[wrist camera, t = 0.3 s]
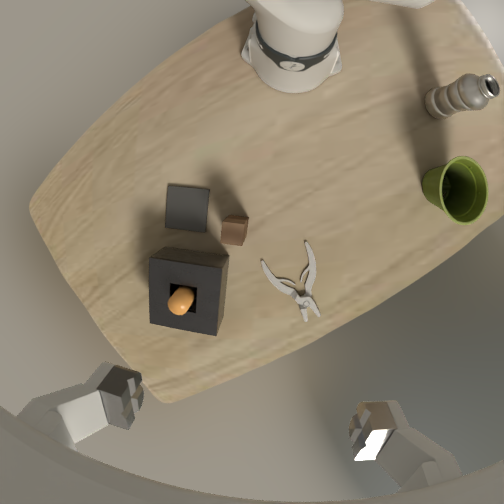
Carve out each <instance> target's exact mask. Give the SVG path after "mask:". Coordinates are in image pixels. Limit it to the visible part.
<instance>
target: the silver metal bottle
mask: <svg viewBox="0 0 504 504" xmlns="http://www.w3.org/2000/svg"><path fill="white" fill-rule="evenodd" d="M499 93H500V87H499V84H498V82H497V80H496V79H495V78H494V77H493V76H492V75H490V74H486V75H483V76H480V77H479V76H477V75H475V74H464V75H462V76H461V77H460V78H458V79H457V80H456V81H455V82H453V83H451V84H449V85H447V86H443V87H437V88H433V89H431V90H430V91H429V92H428V93H427V94H426V96H425V106H426V108H427V110H428V112H429V113H430V114H431V115H432V116H433V117H435V118H438V119H446V118H448V117H450V116H452V115H453V114H455V113H457V112H460V111H466V110H482V109H483V108H484V107H486V105H487V104H488V102H489V99H492V98H494V97H497V96H498V95H499Z"/></svg>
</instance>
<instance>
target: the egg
mask: <svg viewBox="0 0 504 504" xmlns="http://www.w3.org/2000/svg"><path fill="white" fill-rule="evenodd" d="M196 295H197V290H196V288H195V287H191V286H185V285H180V286H179V287H178V289H177V290H176V291H175V292H174V294H173V295H172V296H171V297H170V298H169V300H168V307H169V309H170V311H171V312H172V313H174V314H176V315H183V314H185V313H186V312H187V310H188V309H189V307H190V305H191V304H192V302H193V301H194V299H195V297H196Z"/></svg>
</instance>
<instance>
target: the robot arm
mask: <svg viewBox="0 0 504 504" xmlns="http://www.w3.org/2000/svg"><path fill="white" fill-rule="evenodd" d="M245 1H246V2H247V3H249V4H250V5H251V6H252V7H253V9H254V11H255V13H254V15H253V19H252V22H254V24H253V27H251V28H250V32H249V36H248V38H247V41H246V43H245V45H244V48H243V50H242V53H241V57H242V59H243V60H244V61H245V62H247V63H248V64H250V65H251V66H252V67H253V68H254V69H255V71H256V73H257V74H258V76H259V77H260V78H261V79H262V80H263V81H264V82H265V83H266V84H267V85H269V86H270V87H272V88H274V89H276V90H279V91H282V92H287V93H302V92H306V91H310V90H312V89H314V88H316V87H317V86H319V85H320V84H321V83H322V82H323V81H324V80H325V79H326V78H327V77H329V76H332V75H335V74H337V73H339V72H340V71H341V69H342V63H341V57H340V51H339V46H338V40H337V30H338V28H339V25H340V23H341V21H342V19H343V15H344V6H343V2H342V0H245ZM370 1H373V2H380V3H386V4H392V5H398V6H404V7H410V8H415V9H419V8H422V7H425V6H427V5H429V4H431V3H432V2H434V1H435V0H370ZM248 49H249V51H248ZM336 62H337V63H336ZM141 381H142V376H141V373H140V372H138V371H134V370H131V369H128V368H125V367H122V366H119V365H114V364H112V363H109V362H106V361H105V362H103V363H102V364H101V365H100V366H99V367H98V368H97V370H96V371H95V372H94V373H93V374H92V376H91V377H90V378H89V379H88V380H87V382H86V383H85V384H78V385H75V386H72V387H69V388H66V389H62V390H60V391H56V392H53V393H50V394H47V395H43V396H40V397H37V398H34V399H32V400H31V401H30V402H29V403H28V404H27V405H26V406H25V408H24V409H23V410H22V411H21V412H20V413H19V414H18V415H17V416H14V415H13V414H11V413H10V412H8V411H7V410H5V409H4V408H3V407H1V406H0V504H504V460H502V461H500V462H497V463H495V464H493V465H491V466H488V467H486V468H483V469H481V470H478V471H475V472H473V473H470V474H467V475H464V476H463V475H462V472H461V470H460V468H459V466H458V464H457V462H456V460H455V457H454V455H453V454H451V453H450V452H448V451H447V450H445V449H444V448H442V447H440V446H439V445H437V444H436V443H435V442H433V441H432V440H430V439H429V438H427V437H426V436H424V435H423V434H421V433H420V432H418V431H417V430H415V429H414V428H410V427H409V425H408V423H407V420H406V418H405V416H404V414H403V412H402V409H401V407H400V405H399V403H398V402H397V401H396V400H394V401H372V402H360V403H359V404H358V406H357V409H356V410H357V414H356V415H354V416H353V417H352V419H351V421H350V425H349V437H350V439H351V440H352V441H353V442H354V444H353V446H352V450H353V455H354V459H355V460H369V459H375V461H376V462H377V463H378V464H379V465H380V466H381V467H382V468H383V469H384V471H386V473H387V474H388V475H389V476H390V477H391V478H392V479H393V480H394V481H395V482H396V483H397V484H398V485H399V486H400V487H401V488H400V489H399V490H398V491H397V492H396V493H395V494H391V495H385V496H378V497H372V498H363V499H355V500H343V501H327V502H281V501H264V500H252V499H242V498H235V497H227V496H221V495H215V494H209V493H204V492H199V491H193V490H189V489H184V488H180V487H176V486H172V485H168V484H165V483H161V482H157V481H154V480H150V479H147V478H144V477H141V476H138V475H135V474H132V473H129V472H126V471H123V470H121V469H118V468H115V467H113V466H110V465H108V464H105V463H103V462H100V461H97V460H96V459H93V458H91V457H89V456H86V455H84V454H82V453H80V452H78V450H77V448H76V446H75V443H77V442H78V441H80V440H82V439H84V438H85V437H88V436H89V435H91V434H93V433H95V432H97V431H98V430H100V429H102V428H104V427H105V426H107V425H108V424H111V425H114V426H117V427H120V428H123V429H127V430H129V428H130V427H131V425H132V423H133V421H134V419H135V416H134V413H135V412H137V411H139V410H140V408H141V406H142V402H143V398H144V391H143V388H142V387H141V385H140V383H141Z"/></svg>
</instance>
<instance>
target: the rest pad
mask: <svg viewBox="0 0 504 504" xmlns="http://www.w3.org/2000/svg"><path fill="white" fill-rule="evenodd" d="M209 191H210V190H208V189H198V188H188V187H177V186H168V195H167V208H166V223H165V227H167V228H175V229H183V230H190V231H198V232H206V222H207V211H208V201H209Z"/></svg>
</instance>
